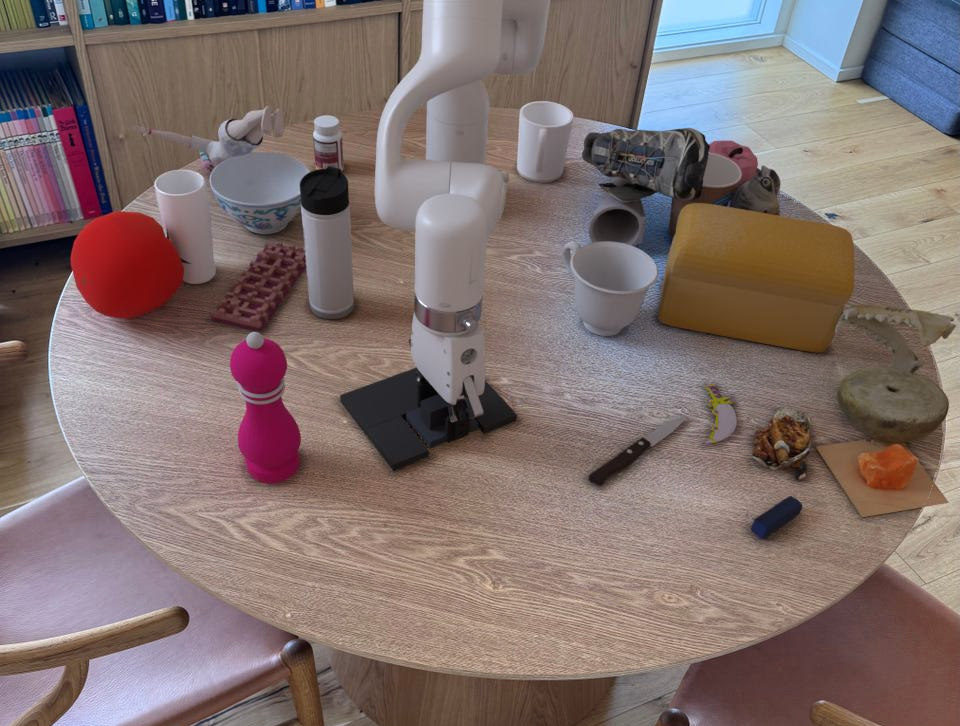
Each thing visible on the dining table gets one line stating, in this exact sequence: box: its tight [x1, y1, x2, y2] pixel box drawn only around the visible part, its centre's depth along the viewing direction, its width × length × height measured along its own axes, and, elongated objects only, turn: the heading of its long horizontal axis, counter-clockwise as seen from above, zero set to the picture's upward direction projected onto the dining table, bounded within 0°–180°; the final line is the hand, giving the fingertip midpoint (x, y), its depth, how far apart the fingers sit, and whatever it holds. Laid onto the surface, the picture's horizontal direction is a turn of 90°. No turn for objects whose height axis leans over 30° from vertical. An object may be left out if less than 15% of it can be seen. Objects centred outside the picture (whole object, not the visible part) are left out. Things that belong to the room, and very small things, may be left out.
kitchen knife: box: [588, 414, 686, 487], centre depth 118 cm, size 18×1×2 cm
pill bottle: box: [312, 114, 344, 172], centre depth 156 cm, size 5×5×8 cm
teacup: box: [561, 240, 659, 337], centre depth 132 cm, size 12×15×10 cm
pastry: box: [751, 407, 812, 481], centre depth 119 cm, size 7×12×4 cm, turn 163°
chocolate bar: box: [210, 240, 307, 333], centre depth 135 cm, size 7×19×2 cm, turn 164°
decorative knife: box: [704, 383, 737, 444], centre depth 123 cm, size 12×1×5 cm
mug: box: [516, 100, 574, 184], centre depth 158 cm, size 11×9×10 cm
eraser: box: [750, 495, 803, 540], centre depth 111 cm, size 2×2×7 cm
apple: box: [708, 140, 759, 201], centre depth 157 cm, size 10×9×10 cm
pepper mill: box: [229, 331, 302, 484], centre depth 105 cm, size 7×7×20 cm
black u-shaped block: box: [339, 367, 518, 472], centre depth 120 cm, size 18×14×1 cm
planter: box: [588, 177, 647, 247], centre depth 154 cm, size 8×9×26 cm
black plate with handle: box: [405, 394, 479, 450], centre depth 117 cm, size 7×6×4 cm
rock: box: [815, 437, 950, 518], centre depth 116 cm, size 12×12×4 cm
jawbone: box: [835, 303, 957, 375], centre depth 127 cm, size 12×13×8 cm
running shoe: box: [581, 127, 710, 211], centre depth 141 cm, size 12×28×12 cm
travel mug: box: [300, 166, 355, 320], centre depth 126 cm, size 6×7×20 cm
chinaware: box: [209, 151, 311, 235], centre depth 144 cm, size 15×15×8 cm
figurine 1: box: [131, 105, 285, 174], centre depth 143 cm, size 29×6×30 cm
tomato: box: [70, 210, 191, 320], centre depth 127 cm, size 16×14×14 cm
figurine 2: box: [729, 165, 781, 216], centre depth 145 cm, size 9×19×10 cm
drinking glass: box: [153, 169, 217, 285], centre depth 131 cm, size 7×7×15 cm
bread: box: [657, 203, 855, 354], centre depth 133 cm, size 24×13×15 cm, turn 78°
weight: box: [837, 365, 950, 443], centre depth 123 cm, size 14×13×5 cm
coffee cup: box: [668, 152, 742, 241], centre depth 147 cm, size 10×10×12 cm
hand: (442, 420), depth 118 cm, fingers closed on black plate with handle, 6 cm apart
